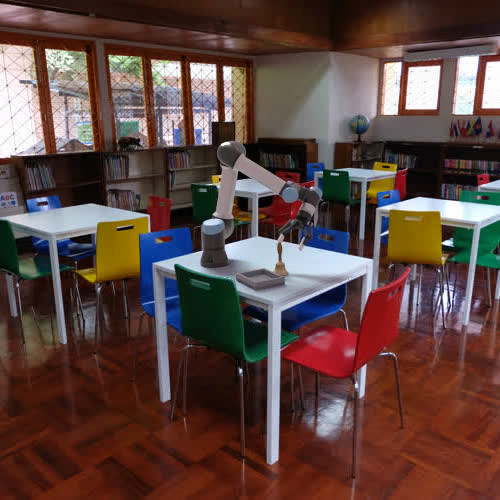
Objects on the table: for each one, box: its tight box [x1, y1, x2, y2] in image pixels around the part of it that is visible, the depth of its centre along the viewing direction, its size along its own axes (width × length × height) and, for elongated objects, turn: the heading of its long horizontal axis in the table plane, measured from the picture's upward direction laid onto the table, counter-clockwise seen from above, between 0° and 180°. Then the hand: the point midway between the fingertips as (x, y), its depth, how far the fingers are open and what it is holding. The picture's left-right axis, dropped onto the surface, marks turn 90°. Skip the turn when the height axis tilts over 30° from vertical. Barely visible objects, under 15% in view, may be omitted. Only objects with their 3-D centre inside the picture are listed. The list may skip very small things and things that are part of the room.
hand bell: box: [272, 242, 289, 277], centre depth 247 cm, size 8×8×16 cm
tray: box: [235, 267, 286, 291], centre depth 235 cm, size 18×16×4 cm
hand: (288, 247), depth 249 cm, fingers open, 13 cm apart
